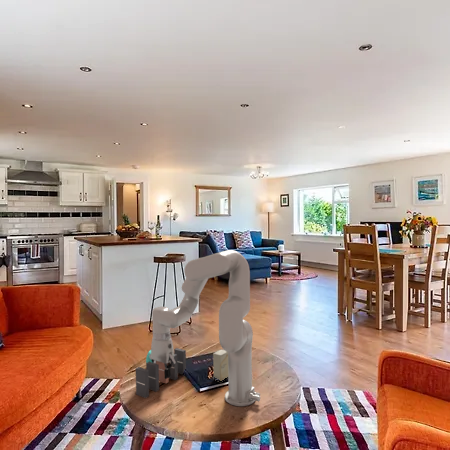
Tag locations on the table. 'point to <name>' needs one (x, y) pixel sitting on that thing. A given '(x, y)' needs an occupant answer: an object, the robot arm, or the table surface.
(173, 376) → the domino
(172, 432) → the table surface
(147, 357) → the decorative dice
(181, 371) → the domino
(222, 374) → the skincare box
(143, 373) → the domino
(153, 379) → the domino
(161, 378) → the domino
